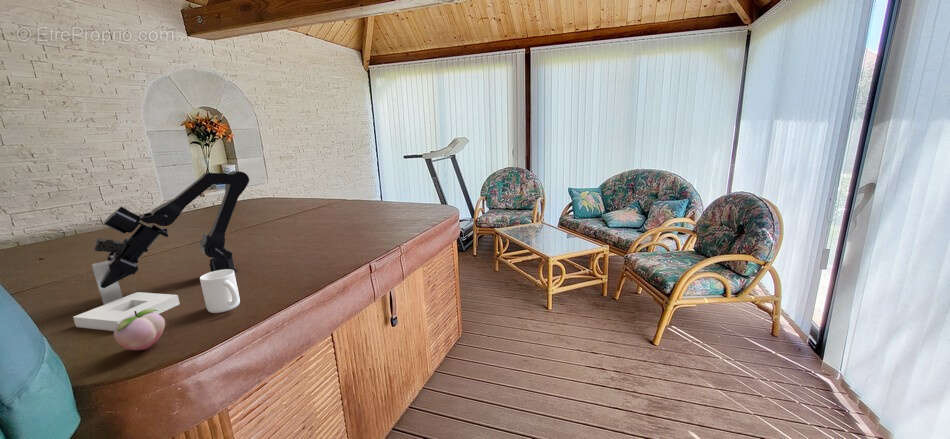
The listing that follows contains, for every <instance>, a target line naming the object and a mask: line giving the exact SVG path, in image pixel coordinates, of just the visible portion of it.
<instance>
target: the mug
mask: <svg viewBox="0 0 950 439" xmlns="http://www.w3.org/2000/svg"><path fill="white" fill-rule="evenodd" d="M236 279H237V278H236V272H234V270H231V269H224V270H217V271H213V272H211V271H210V272H206V273H204V274H203V275H201V276H200V277H199V281H200V285H201V286H200V287H201V290H202V294H203V298H204V304H205V307H206V309H207V310H206V311H208V312H209V313H210V314H212V313H213V314H219V313H224V312H228V311H231V310H233V309H235V308H237V307H238V306H239V305H240V303H241V300H240V299H241V298H240V294H239V293H240V292H239V288H238V284H237V280H236Z"/></svg>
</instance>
